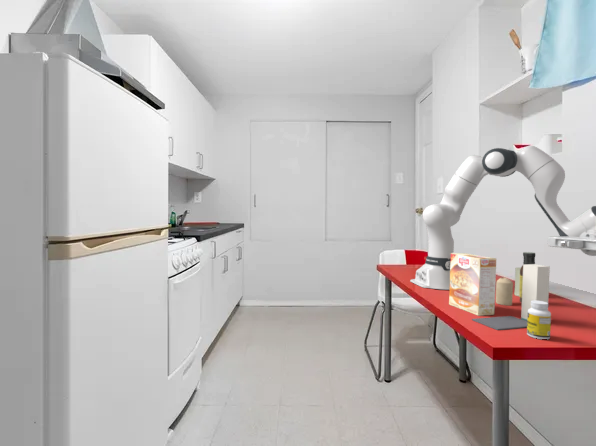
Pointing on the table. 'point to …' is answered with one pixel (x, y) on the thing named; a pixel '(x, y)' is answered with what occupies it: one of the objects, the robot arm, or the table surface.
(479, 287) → the coffeecake box
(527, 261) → the sauce bottle
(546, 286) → the block
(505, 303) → the candle
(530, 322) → the supplement bottle
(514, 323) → the mat
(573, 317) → the table surface
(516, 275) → the can
